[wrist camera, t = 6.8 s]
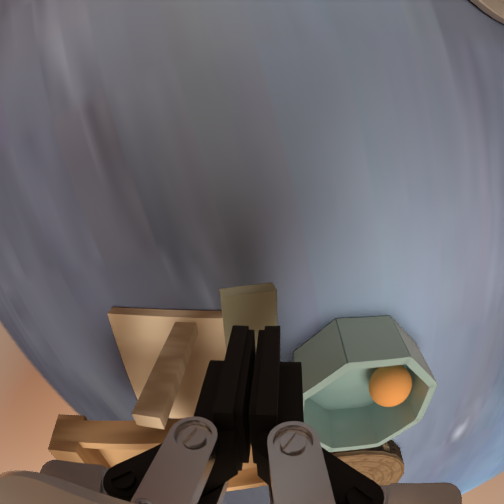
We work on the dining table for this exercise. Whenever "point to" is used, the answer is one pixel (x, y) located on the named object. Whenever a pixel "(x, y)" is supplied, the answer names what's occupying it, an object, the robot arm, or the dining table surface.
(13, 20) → the dining table surface
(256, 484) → the lever
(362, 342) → the green octagonal bowl
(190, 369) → the frame
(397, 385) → the ball
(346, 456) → the wood log slice
